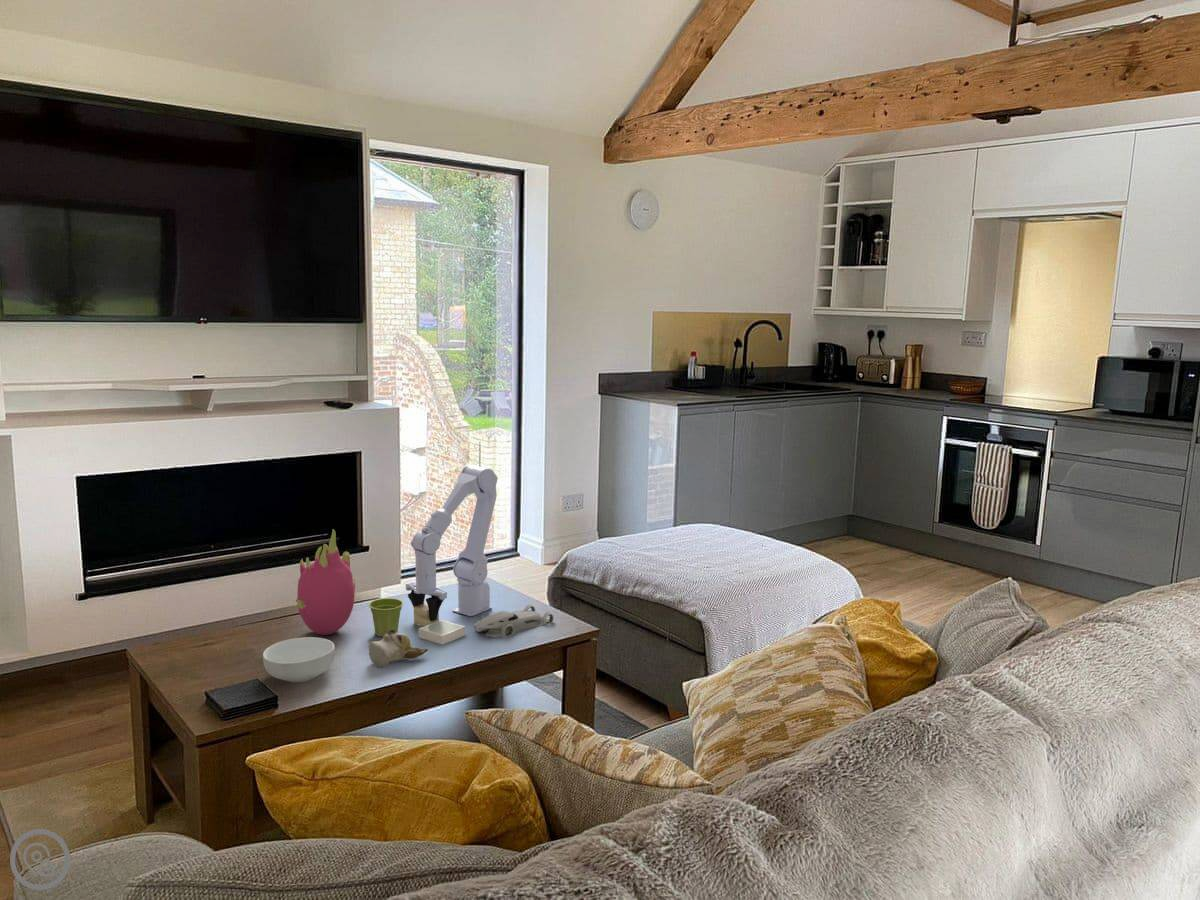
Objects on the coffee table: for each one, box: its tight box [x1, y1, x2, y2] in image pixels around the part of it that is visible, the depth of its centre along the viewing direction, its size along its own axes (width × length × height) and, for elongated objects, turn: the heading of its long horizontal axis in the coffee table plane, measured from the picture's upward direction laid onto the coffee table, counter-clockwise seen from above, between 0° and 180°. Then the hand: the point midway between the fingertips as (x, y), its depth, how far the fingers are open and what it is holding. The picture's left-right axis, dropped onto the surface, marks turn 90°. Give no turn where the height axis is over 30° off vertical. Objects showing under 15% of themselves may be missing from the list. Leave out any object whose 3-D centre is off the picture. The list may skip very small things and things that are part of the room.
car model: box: [474, 604, 555, 639], centre depth 258 cm, size 11×24×5 cm, turn 132°
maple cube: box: [413, 602, 440, 627], centre depth 259 cm, size 5×5×5 cm
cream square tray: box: [418, 619, 466, 645], centre depth 249 cm, size 9×9×3 cm
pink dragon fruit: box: [295, 528, 356, 636], centre depth 248 cm, size 18×14×30 cm
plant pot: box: [368, 597, 404, 638], centre depth 250 cm, size 9×9×9 cm
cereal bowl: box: [262, 636, 336, 683], centre depth 221 cm, size 17×17×7 cm
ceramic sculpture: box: [368, 630, 429, 668], centre depth 231 cm, size 11×9×15 cm
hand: (426, 618), depth 260 cm, fingers closed on maple cube, 5 cm apart
